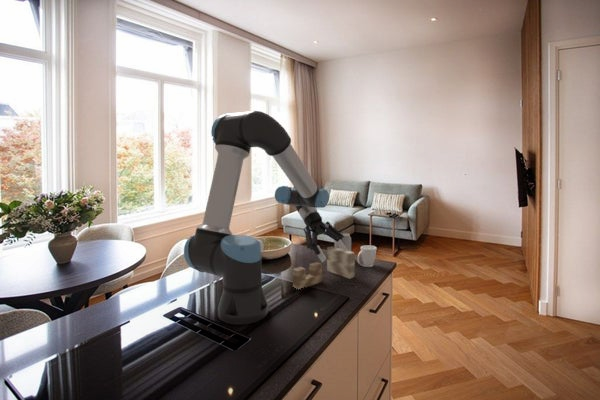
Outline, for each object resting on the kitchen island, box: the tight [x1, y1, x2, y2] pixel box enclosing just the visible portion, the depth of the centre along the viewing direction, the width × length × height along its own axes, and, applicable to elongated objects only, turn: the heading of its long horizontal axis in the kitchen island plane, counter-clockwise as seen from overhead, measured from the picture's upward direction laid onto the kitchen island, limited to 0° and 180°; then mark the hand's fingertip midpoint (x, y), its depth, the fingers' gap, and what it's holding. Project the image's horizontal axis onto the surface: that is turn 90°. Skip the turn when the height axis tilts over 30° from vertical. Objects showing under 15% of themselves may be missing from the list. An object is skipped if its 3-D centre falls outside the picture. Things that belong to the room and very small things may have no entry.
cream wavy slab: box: [326, 245, 356, 280], centre depth 135 cm, size 12×3×10 cm, turn 41°
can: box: [334, 232, 352, 252], centre depth 153 cm, size 8×8×12 cm
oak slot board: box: [292, 261, 323, 291], centre depth 125 cm, size 12×3×7 cm, turn 131°
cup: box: [356, 244, 378, 268], centre depth 145 cm, size 7×10×8 cm
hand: (335, 257), depth 138 cm, fingers open, 13 cm apart
